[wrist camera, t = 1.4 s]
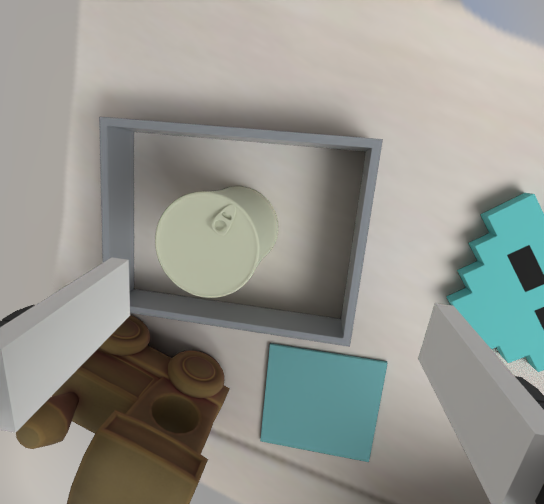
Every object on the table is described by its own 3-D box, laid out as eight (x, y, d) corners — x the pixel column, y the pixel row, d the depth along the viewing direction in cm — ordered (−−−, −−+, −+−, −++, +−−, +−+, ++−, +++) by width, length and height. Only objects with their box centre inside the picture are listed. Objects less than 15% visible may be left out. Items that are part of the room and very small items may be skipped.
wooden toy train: (247, 369, 44) (202, 481, 28) (212, 434, 47) (154, 569, 31) (109, 297, 45) (-12, 366, 29) (84, 366, 48) (-38, 463, 31)
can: (294, 217, 39) (281, 236, 27) (249, 280, 41) (219, 321, 30) (227, 169, 39) (186, 167, 27) (186, 234, 41) (132, 258, 30)
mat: (368, 459, 44) (368, 462, 44) (261, 438, 46) (260, 441, 45) (386, 361, 41) (387, 363, 40) (270, 343, 42) (269, 344, 42)
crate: (346, 326, 41) (349, 346, 36) (128, 294, 44) (103, 308, 39) (374, 144, 36) (382, 139, 31) (127, 123, 39) (99, 116, 34)
